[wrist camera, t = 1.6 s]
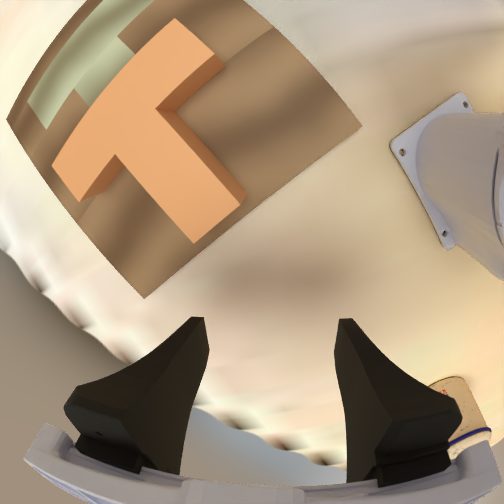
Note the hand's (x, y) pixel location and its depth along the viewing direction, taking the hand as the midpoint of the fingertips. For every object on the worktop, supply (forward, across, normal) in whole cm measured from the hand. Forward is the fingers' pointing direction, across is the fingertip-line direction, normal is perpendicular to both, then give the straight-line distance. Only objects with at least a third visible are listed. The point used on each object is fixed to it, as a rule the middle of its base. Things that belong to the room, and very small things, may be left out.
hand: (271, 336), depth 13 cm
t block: (+7, +6, -8) cm, 13 cm away
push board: (+8, +9, -12) cm, 17 cm away
